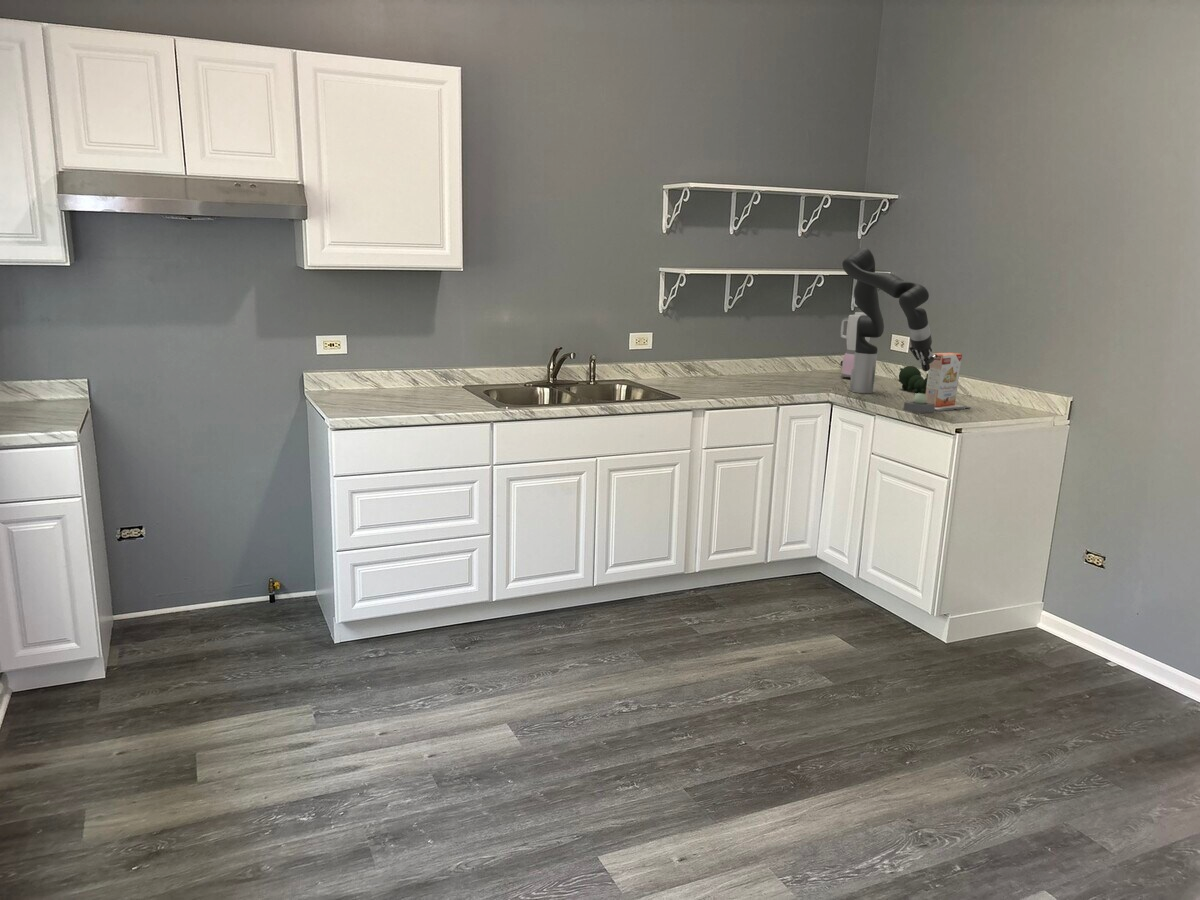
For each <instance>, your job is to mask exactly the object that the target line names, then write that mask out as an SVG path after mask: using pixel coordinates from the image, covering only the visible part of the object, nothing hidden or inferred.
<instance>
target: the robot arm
mask: <svg viewBox="0 0 1200 900" xmlns="http://www.w3.org/2000/svg"><path fill="white" fill-rule="evenodd" d="M875 261H876V260H875V257H874V255H873V252H872V251H871V249H869V248H868V247H866V246H865V247H864V246H862V247H859V248H858V249H856V250H855V251H853V252H852V253H851V254H850V255H848V256H847V257H846V258H844V260H842V263H841V264H842V268H843V270H844V272H845V273H846V274H847V276H849V277H851V279H854V280H856V284H855V285H854V290H853V297H854V301H855V306H857V308H858V309H859V310H860V312H861V313H865V314H866V315H867V316H866V315H862V316H860V317H859V318H858V321H857V332H856V348H855V358H854V368H853V369H852V370H851V377H850V381H849V391H850V392H853V393H857V394H873V393H874V387H875V385H874V384H875V377H876V367H877V358H878V346H876V345H874V344H871V343H870V342H869V343H868V342H867V341H866V340H865V337H870V338H872V339H873V338H874V339H875V338H876V339H877V338H879V337H881V336H882V335H883V333H884V330H885V325H884V324H885V323H884V318H883V315H882V311H881V308H880V302H879V294H878V289H879V290H881V291H883V292H885V293H886V294H888V295H889V296H891V297H892V298H894V299H898V305H899V306H900V309H901V310H902V311H903V313H904V315H905V317H906V319H907V321H906V322H907V324H908V325H907V326H908V336H909V340H910V347H909V348H908V349H909V350H910V352H911V353H912V355H913V357H914V358H915V359H916V361H919V363H920V364H921V369H922V371H924V372H928V370H929V369H930V365H929V364H930V363H932V362H933V361H934V360H935V359H936V358H937V354H935V355H934V353H933V349H932V347H931V346H932V343H933V340H932V333H931V329H930V325H929V320H928V314H927V311H926V310H925V309H924V308H922V307H920V306H921V305H923V304H925V303H926V302H927V301H928V300H929V297H930V295H929V294H930V293H929V291H928V289H927V288H926V287H925V286H923V285H922V284H920V283H916V282H912V281H907V280H904V279H902V278H901V277H899V276H897V275H896V274H893V273H891V272H884V271H883V272H880V271H879V272H877V271H876V262H875Z"/></svg>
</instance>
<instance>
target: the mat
mask: <svg viewBox="0 0 1200 900" xmlns="http://www.w3.org/2000/svg"><path fill="white" fill-rule="evenodd" d="M964 408H971V407H970V406H967V405H961V404H956V403H955V405H949V406H941V407H935V409H934V412H937V411H939V412H945V411H944V410H951V411H955V410H954V409H962V410H965V409H964Z"/></svg>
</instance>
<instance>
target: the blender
mask: <svg viewBox="0 0 1200 900" xmlns="http://www.w3.org/2000/svg"><path fill="white" fill-rule="evenodd" d="M862 315H866V314H865V313H864V312H862V311H860V312H857V311H855V313H854V314H849V315H848V317H844V318H842V319H841V321H840V328H839V337H840V338H841V339H843V340H846V351H845V353H844V355H843V357H842V360H841V361H840V364H839V365H840V366H841V367H842V368H841V373H840V375H841V376H840V377H841V379H844V377H845V378H846V377H847V378H851V370H852V369H853V368H854V358H855V348H856V332H857V321H858V318H859V317H860V316H862ZM866 316H868V315H866ZM846 322H847V325H846V334H845V335H844V332H845V331H844V330H845V323H846ZM865 340H866V341H867V342H868V343H870V340H871V337H865Z"/></svg>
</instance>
